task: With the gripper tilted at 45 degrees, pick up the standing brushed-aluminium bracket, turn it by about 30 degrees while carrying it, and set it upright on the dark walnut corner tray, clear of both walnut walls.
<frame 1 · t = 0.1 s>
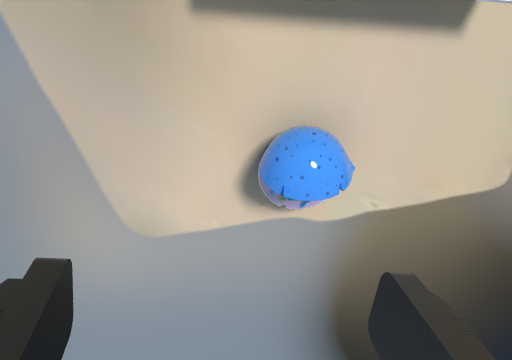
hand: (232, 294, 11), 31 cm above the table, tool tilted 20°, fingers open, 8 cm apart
blue rounded hollow shell: (298, 148, 49), on the table
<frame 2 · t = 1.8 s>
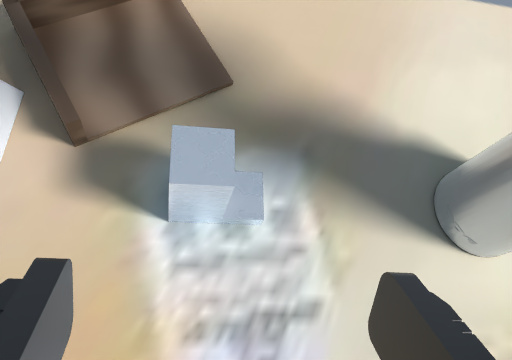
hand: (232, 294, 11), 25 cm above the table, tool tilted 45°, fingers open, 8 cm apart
aluminium bracket: (195, 198, 38), on the table
walnut corner tray: (126, 56, 42), on the table
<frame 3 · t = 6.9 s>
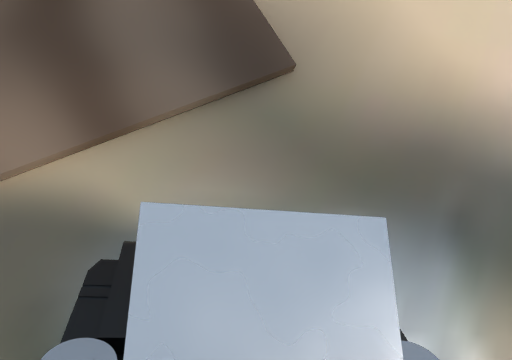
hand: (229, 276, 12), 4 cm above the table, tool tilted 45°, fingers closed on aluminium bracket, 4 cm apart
aluminium bracket: (212, 352, 15), on the table, touching gripper
walnut corner tray: (65, 4, 19), on the table
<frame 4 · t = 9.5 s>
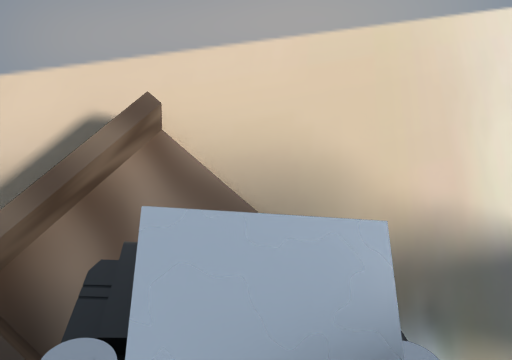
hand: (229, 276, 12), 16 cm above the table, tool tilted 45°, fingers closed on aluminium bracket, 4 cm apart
aluminium bracket: (213, 354, 15), point 12 cm above the table, touching gripper
walnut corner tray: (138, 271, 27), on the table
when the fingers open (6 cm above the table, at t = 12.3 s): aluminium bracket drops 1 cm, resting on walnut corner tray.
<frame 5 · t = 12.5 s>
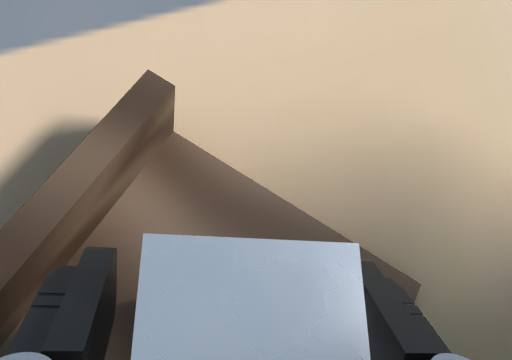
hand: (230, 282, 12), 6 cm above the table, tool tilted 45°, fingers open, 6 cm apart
aluminium bracket: (209, 358, 16), resting on walnut corner tray
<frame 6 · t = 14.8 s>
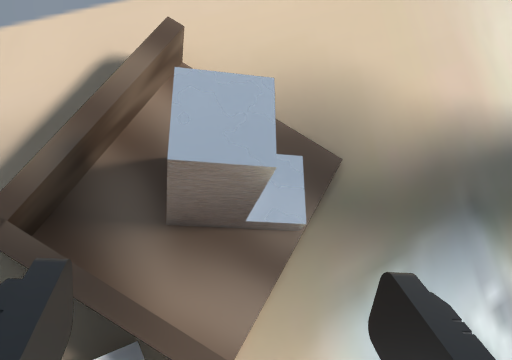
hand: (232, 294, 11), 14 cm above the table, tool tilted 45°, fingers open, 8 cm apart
aluminium bracket: (205, 191, 26), resting on walnut corner tray
walnut corner tray: (188, 200, 26), on the table
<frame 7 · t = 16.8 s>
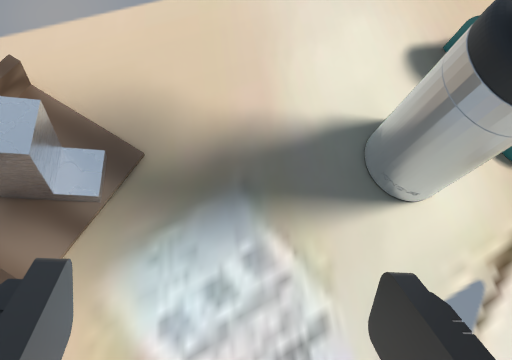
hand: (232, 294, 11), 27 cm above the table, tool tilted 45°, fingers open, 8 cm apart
aluminium bracket: (35, 175, 38), resting on walnut corner tray
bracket: (494, 103, 54), on the table
walnut corner tray: (23, 181, 38), on the table
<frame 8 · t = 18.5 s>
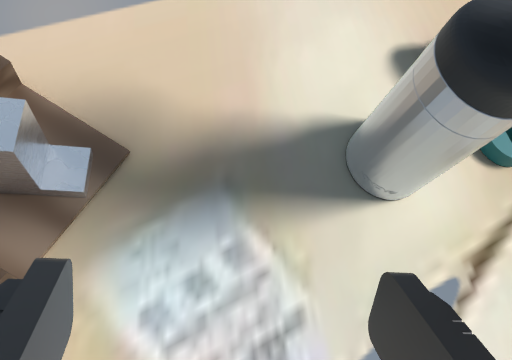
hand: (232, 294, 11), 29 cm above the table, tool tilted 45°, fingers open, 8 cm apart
aluminium bracket: (23, 171, 39), resting on walnut corner tray
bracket: (477, 104, 55), on the table
walnut corner tray: (12, 177, 39), on the table
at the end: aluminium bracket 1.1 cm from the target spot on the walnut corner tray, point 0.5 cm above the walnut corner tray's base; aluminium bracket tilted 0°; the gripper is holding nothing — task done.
